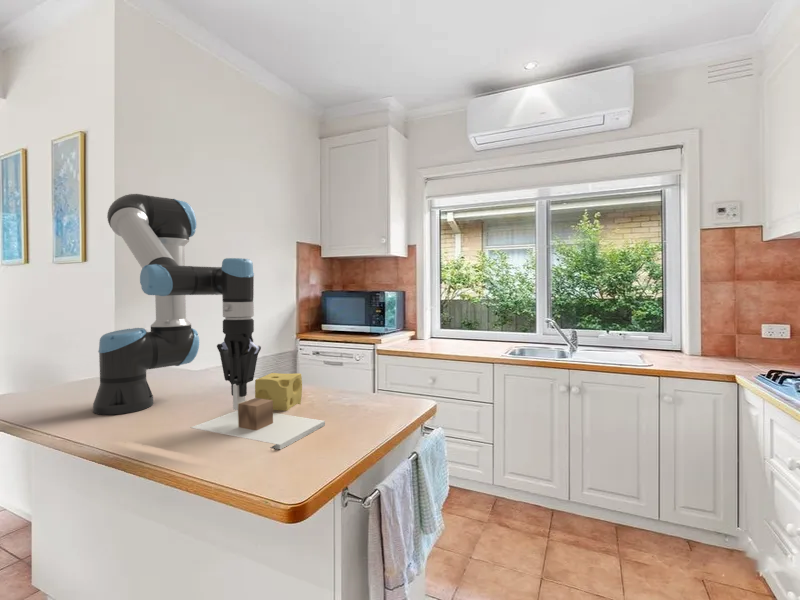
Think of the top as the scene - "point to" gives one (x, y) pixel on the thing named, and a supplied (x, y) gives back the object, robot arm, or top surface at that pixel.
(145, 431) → the top surface
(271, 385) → the cheese
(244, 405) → the walnut block
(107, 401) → the robot arm
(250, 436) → the cutting board
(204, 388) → the top surface
